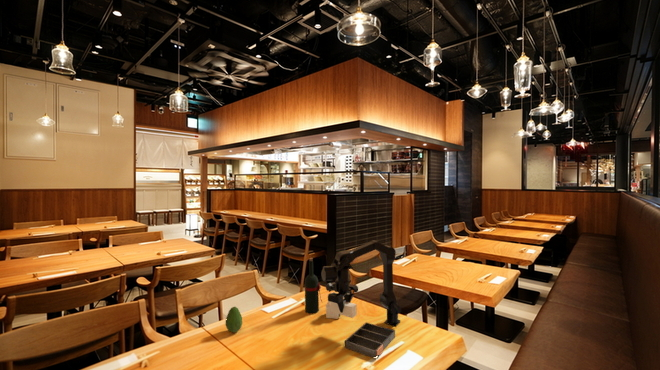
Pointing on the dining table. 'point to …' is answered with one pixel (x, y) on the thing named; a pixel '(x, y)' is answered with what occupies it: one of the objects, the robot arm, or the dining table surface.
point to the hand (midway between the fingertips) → (343, 310)
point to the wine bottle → (311, 291)
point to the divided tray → (370, 339)
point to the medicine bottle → (328, 311)
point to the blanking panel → (345, 309)
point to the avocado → (234, 320)
